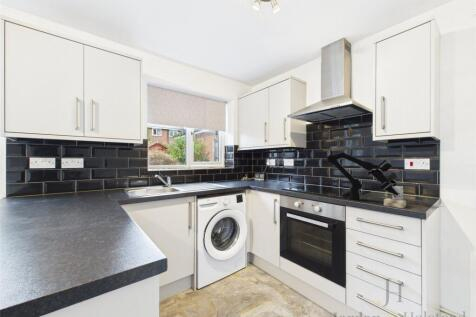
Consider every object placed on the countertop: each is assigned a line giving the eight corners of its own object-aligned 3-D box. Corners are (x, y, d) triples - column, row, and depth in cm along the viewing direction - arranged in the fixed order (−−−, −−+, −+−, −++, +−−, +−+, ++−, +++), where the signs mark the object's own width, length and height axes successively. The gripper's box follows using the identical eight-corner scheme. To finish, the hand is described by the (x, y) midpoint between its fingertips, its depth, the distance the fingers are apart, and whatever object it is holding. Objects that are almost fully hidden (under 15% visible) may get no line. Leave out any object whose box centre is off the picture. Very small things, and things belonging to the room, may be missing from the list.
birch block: (383, 205, 134) (383, 199, 134) (387, 204, 139) (387, 198, 139) (403, 208, 126) (403, 201, 126) (405, 206, 131) (405, 200, 131)
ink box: (394, 202, 143) (394, 185, 143) (403, 203, 139) (403, 186, 139) (391, 204, 137) (392, 186, 137) (401, 205, 133) (401, 187, 133)
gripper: (385, 169, 135) (407, 187, 127) (393, 168, 147) (413, 185, 139) (372, 180, 141) (391, 198, 133) (380, 178, 153) (398, 195, 145)
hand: (399, 194), depth 137 cm, fingers closed on ink box, 9 cm apart
